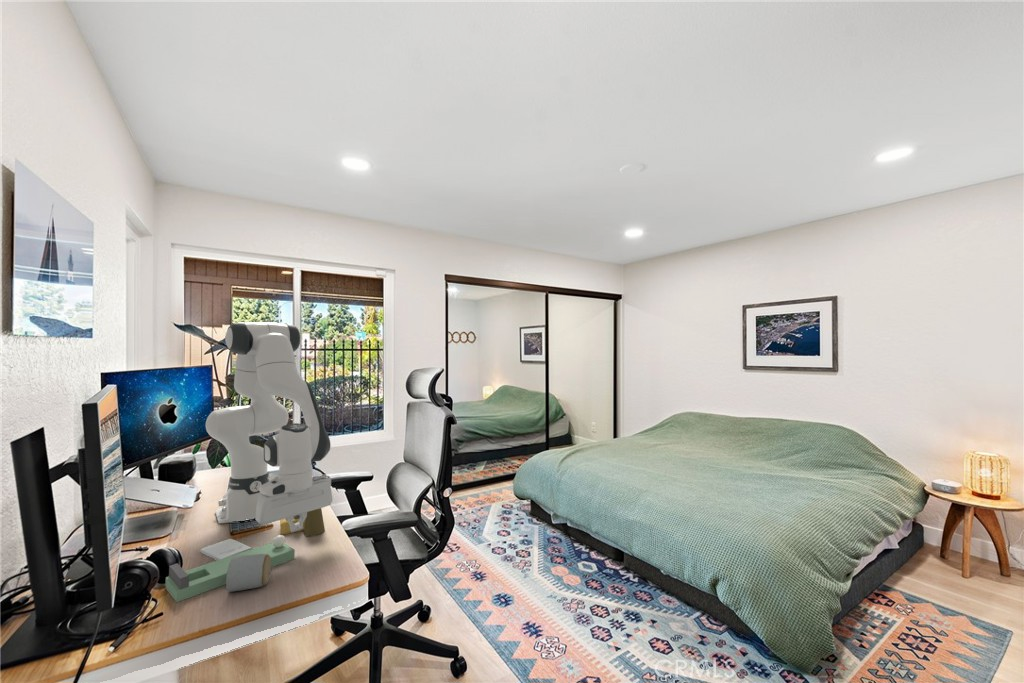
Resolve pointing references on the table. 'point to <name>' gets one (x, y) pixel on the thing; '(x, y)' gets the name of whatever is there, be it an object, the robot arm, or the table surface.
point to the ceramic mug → (248, 572)
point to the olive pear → (314, 523)
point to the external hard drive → (224, 549)
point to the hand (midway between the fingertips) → (296, 530)
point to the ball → (279, 541)
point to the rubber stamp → (286, 527)
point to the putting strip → (216, 572)
